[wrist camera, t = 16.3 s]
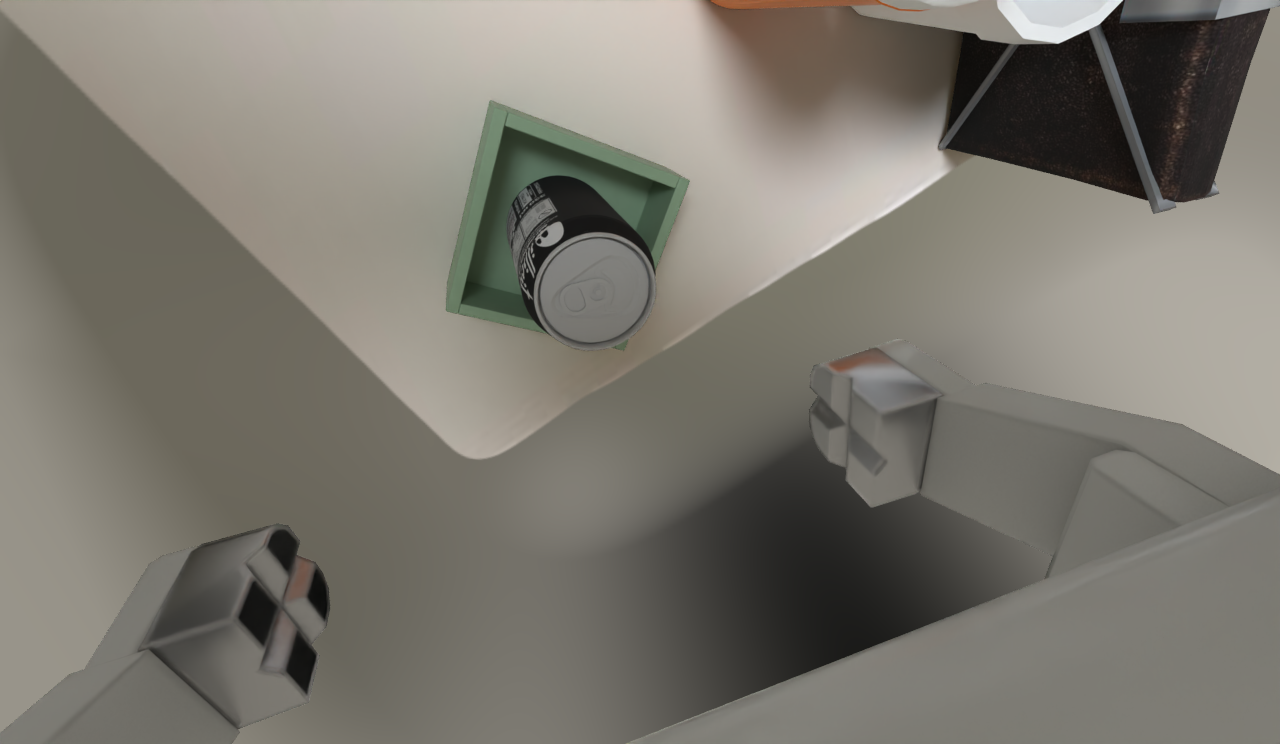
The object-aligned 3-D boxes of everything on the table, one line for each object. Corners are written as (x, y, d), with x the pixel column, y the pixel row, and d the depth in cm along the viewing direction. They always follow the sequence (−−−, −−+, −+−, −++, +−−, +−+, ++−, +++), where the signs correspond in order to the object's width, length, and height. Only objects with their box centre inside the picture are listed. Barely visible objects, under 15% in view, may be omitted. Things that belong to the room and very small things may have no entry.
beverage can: (618, 257, 37) (676, 333, 27) (525, 288, 37) (551, 377, 27) (592, 159, 34) (649, 204, 24) (489, 190, 33) (502, 251, 23)
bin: (446, 283, 36) (445, 311, 32) (489, 99, 31) (494, 106, 27) (608, 322, 40) (624, 351, 36) (665, 167, 36) (690, 180, 32)
